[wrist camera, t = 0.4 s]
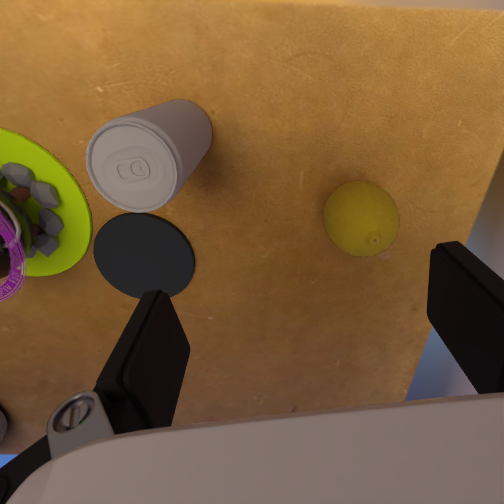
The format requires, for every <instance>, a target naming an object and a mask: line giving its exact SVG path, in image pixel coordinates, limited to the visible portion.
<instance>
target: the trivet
mask: <svg viewBox="0 0 504 504" xmlns="http://www.w3.org/2000/svg"><path fill="white" fill-rule="evenodd" d="M94 258H95V261H96V264H97V266H98V268H99V270H100V272H101V273H102V275H103V276H104V277H105V279H106V280H107V281H108V282H109V283H110V284H111V285H113V286H114V287H115V288H116V289H118V290H120V291H121V292H123V293H125V294H127V295H129V296H132V297H135V298H139V299H141V297H142V296H143V294H144V293H145V292H146V291H152V290H159V289H160V290H162V291H163V293H164V292H166V293H168V295H169V297H172V296H174V295H176V294H178V293H179V292H181V291H182V290H183V289H184V288H185V287H186V286H187V285H188V283H189V282H190V280H191V278H192V275H193V272H194V266H195V259H194V253H193V250H192V247H191V245H190V243H189V241H188V240H187V238H186V237H185V236H184V234H183V233H182V232H181V231H180V230H179V229H178V228H177V227H176V226H174V225H173V224H172V223H170V222H168V221H167V220H165V219H163V218H161V217H158V216H155V215H152V214H148V213H136V212H133V213H125V214H122V215H118V216H116V217H114V218H112V219H111V220H109V221H108V222H107V223H106V224H105V225H104V226H103V227H102V228H101V229H100V230H99V232H98V234H97V236H96V238H95V241H94Z"/></svg>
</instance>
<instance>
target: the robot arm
mask: <svg viewBox="0 0 504 504" xmlns="http://www.w3.org/2000/svg"><path fill="white" fill-rule="evenodd" d="M427 316H428V319H429V321H430V322H431V324H432V325H433V327H434V328H435V330H436V331H437V333H438V334H439V336H440V337H441V339H442V340H443V342H444V343H445V345H446V346H447V348H448V349H449V351H450V352H451V354H452V355H453V357H454V358H455V360H456V361H457V363H458V364H459V366H460V367H461V369H462V370H463V371H464V373H465V374H466V376H467V377H468V379H469V380H470V382H471V383H472V385H473V386H474V388H475V389H476V391H477V392H478V394H477V395H465V396H453V397H443V398H432V399H422V400H413V401H402V402H392V403H382V404H372V405H362V406H352V407H343V408H333V409H324V410H314V411H304V412H295V413H286V414H276V415H267V416H258V417H249V418H240V419H231V420H222V421H213V422H204V423H195V424H186V425H178V426H171V424H172V420H173V416H174V413H175V409H176V405H177V401H178V397H179V393H180V389H181V386H182V382H183V378H184V374H185V370H186V366H187V362H188V359H189V355H190V345H189V342H188V340H187V338H186V335H185V333H184V330H183V328H182V326H181V323H180V321H179V319H178V316H177V314H176V312H175V309H174V307H173V304H172V302H171V300H170V297H169V295H168V293H166V292H164V293H163V291H162V290H160V289H159V290H152V291H146V292H145V293H144V294H143V296H142V297H141V299H140V301H139V303H138V305H137V307H136V309H135V310H134V312H133V314H132V316H131V318H130V320H129V322H128V323H127V325H126V327H125V329H124V331H123V333H122V335H121V336H120V338H119V340H118V342H117V344H116V346H115V348H114V349H113V351H112V353H111V355H110V357H109V359H108V361H107V362H106V364H105V366H104V368H103V370H102V372H101V374H100V375H99V377H98V379H97V381H96V383H97V384H96V386H95V388H94V389H93V391H91V390H89V391H82V392H78V393H76V394H74V395H72V396H70V397H68V398H67V399H66V400H64V401H63V402H62V403H61V404H60V405H59V406H58V407H57V408H56V409H55V410H54V411H53V413H52V414H51V416H50V417H49V420H48V422H47V427H46V432H47V435H45V436H44V437H43V438H41V439H40V440H38V441H37V442H36V443H34V444H33V445H32V446H30V447H29V448H27V449H26V450H25V451H23V452H22V453H21V454H19V455H18V456H17V457H15V458H14V459H12V460H11V461H10V462H8V463H7V464H6V465H4V466H3V467H1V468H0V504H504V280H503V279H502V278H501V277H499V276H498V275H497V274H496V273H495V272H494V271H492V270H491V269H490V268H489V267H488V266H487V265H485V264H484V263H483V262H482V261H481V260H480V259H478V258H477V257H476V256H475V255H474V254H473V253H471V252H470V251H469V250H468V249H467V248H466V247H465V246H463V245H462V244H461V243H460V242H458V241H452V242H445V243H439V244H437V245H436V248H435V249H432V250H431V253H430V268H429V284H428V299H427Z"/></svg>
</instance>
